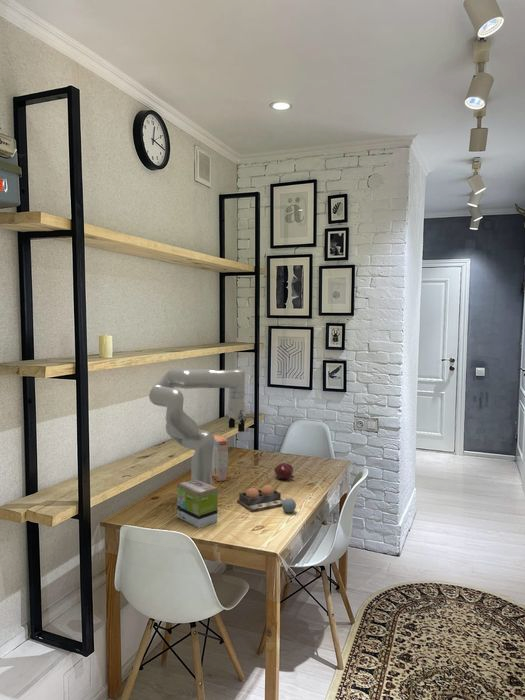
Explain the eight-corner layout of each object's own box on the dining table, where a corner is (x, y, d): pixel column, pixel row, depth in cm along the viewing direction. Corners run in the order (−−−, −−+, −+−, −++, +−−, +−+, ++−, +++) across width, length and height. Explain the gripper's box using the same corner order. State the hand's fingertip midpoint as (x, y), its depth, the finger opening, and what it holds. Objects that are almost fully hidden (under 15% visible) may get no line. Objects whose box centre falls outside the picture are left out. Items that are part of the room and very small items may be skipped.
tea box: (176, 517, 219) (176, 482, 218) (195, 511, 226) (195, 477, 225) (198, 528, 208) (198, 492, 207) (218, 522, 215) (218, 486, 214)
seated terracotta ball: (265, 501, 236) (265, 488, 236) (258, 497, 241) (258, 484, 241) (276, 499, 239) (276, 486, 239) (269, 495, 245) (269, 482, 244)
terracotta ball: (249, 504, 232) (250, 491, 232) (243, 500, 237) (243, 487, 237) (261, 502, 235) (262, 489, 235) (254, 498, 240) (255, 485, 240)
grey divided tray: (252, 512, 226) (252, 502, 226) (237, 502, 238) (237, 493, 238) (287, 505, 235) (287, 496, 235) (270, 495, 247) (271, 487, 247)
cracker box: (228, 480, 269) (228, 440, 268) (216, 482, 267) (217, 441, 265) (220, 473, 282) (220, 434, 281) (209, 474, 280) (209, 435, 278)
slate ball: (286, 515, 223) (287, 501, 223) (279, 511, 228) (279, 497, 228) (298, 513, 226) (298, 499, 226) (290, 508, 231) (290, 495, 231)
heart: (271, 479, 269) (290, 483, 268) (273, 464, 269) (293, 468, 268) (274, 473, 281) (292, 476, 280) (276, 459, 281) (294, 462, 280)
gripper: (222, 393, 263) (221, 427, 264) (238, 397, 248) (238, 433, 249) (235, 392, 267) (234, 425, 268) (252, 396, 252) (251, 432, 253)
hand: (236, 429), depth 259 cm, fingers open, 9 cm apart
